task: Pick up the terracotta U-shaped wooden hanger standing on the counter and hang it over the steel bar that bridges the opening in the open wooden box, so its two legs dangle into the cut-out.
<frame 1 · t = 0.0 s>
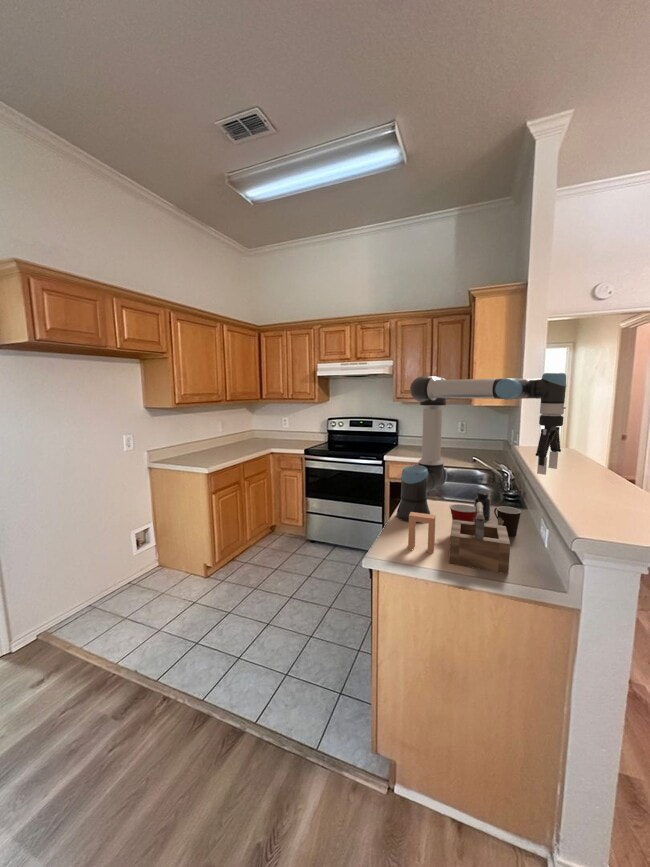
hand: (547, 471, 134), 28 cm above the counter, tool pointing down, fingers open, 13 cm apart
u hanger: (421, 548, 132), on the counter
open wooden box: (477, 558, 124), on the counter
plastic cup: (462, 535, 144), on the counter
supplement bottle: (481, 518, 163), on the counter
coffee mug: (506, 532, 147), on the counter
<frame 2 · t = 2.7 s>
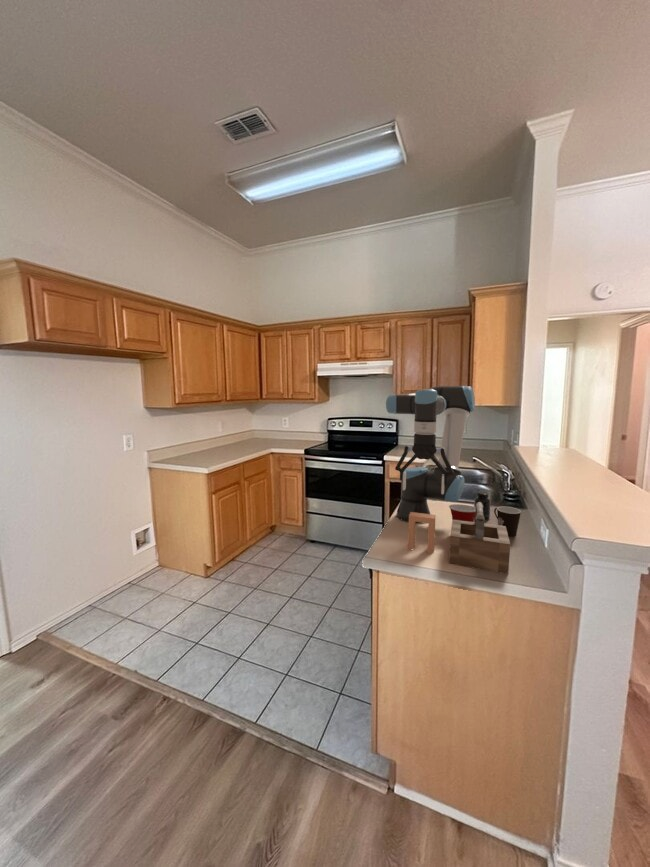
hand: (423, 491, 129), 22 cm above the counter, tool pointing down, fingers open, 13 cm apart
nothing on the counter moved.
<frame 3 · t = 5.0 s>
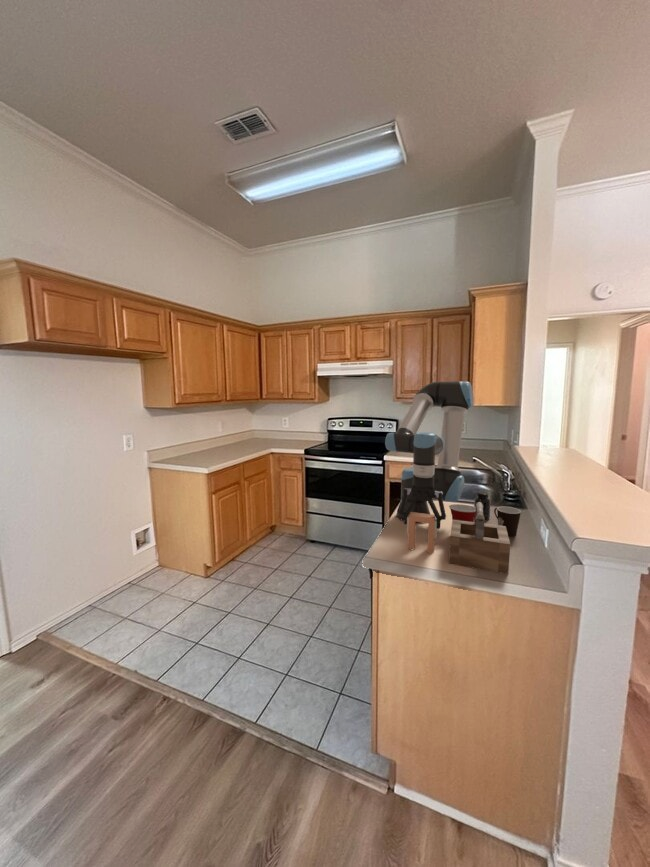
hand: (421, 534, 131), 5 cm above the counter, tool pointing down, fingers closed on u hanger, 9 cm apart
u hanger: (421, 548, 132), on the counter, touching gripper
everything else where it was.
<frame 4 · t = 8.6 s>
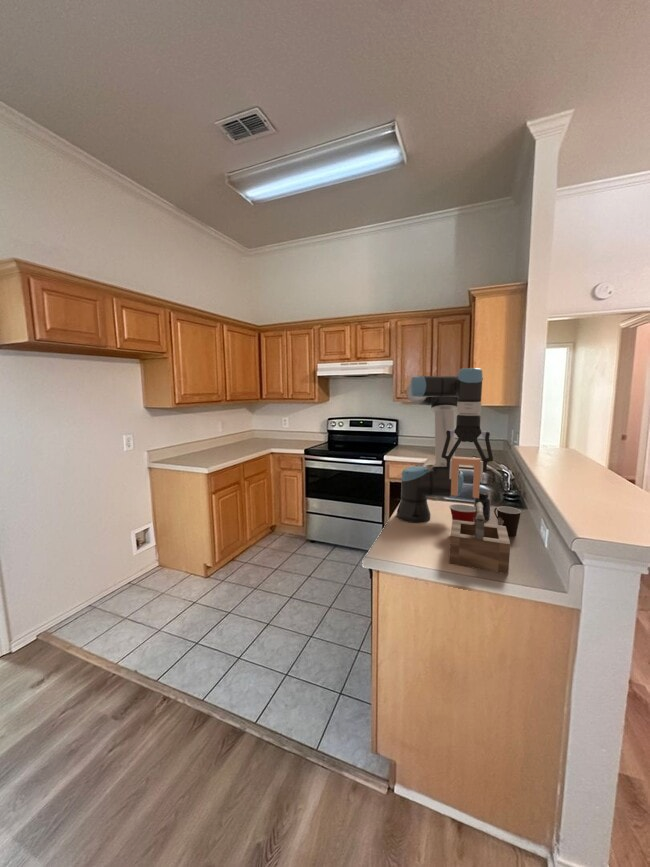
hand: (465, 479, 122), 28 cm above the counter, tool pointing down, fingers closed on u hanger, 9 cm apart
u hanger: (464, 495, 123), point 22 cm above the counter, touching gripper
everything else where it was.
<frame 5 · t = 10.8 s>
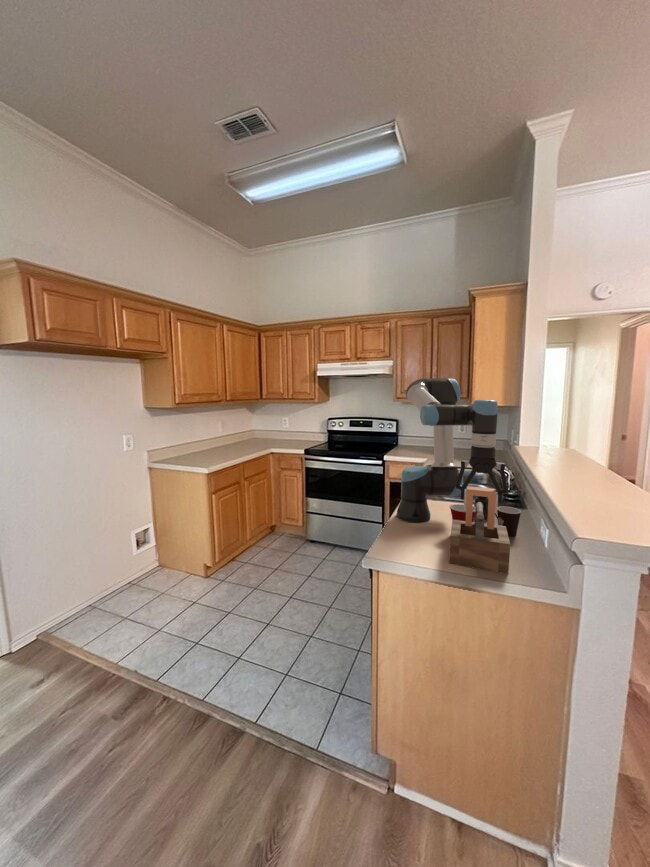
hand: (480, 510, 122), 17 cm above the counter, tool pointing down, fingers closed on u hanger, 9 cm apart
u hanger: (479, 525, 122), point 12 cm above the counter, touching gripper
everything else where it was.
when the fingers open (14 cm above the counter, at t = 12.4 s): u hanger drops 1 cm, resting on open wooden box.
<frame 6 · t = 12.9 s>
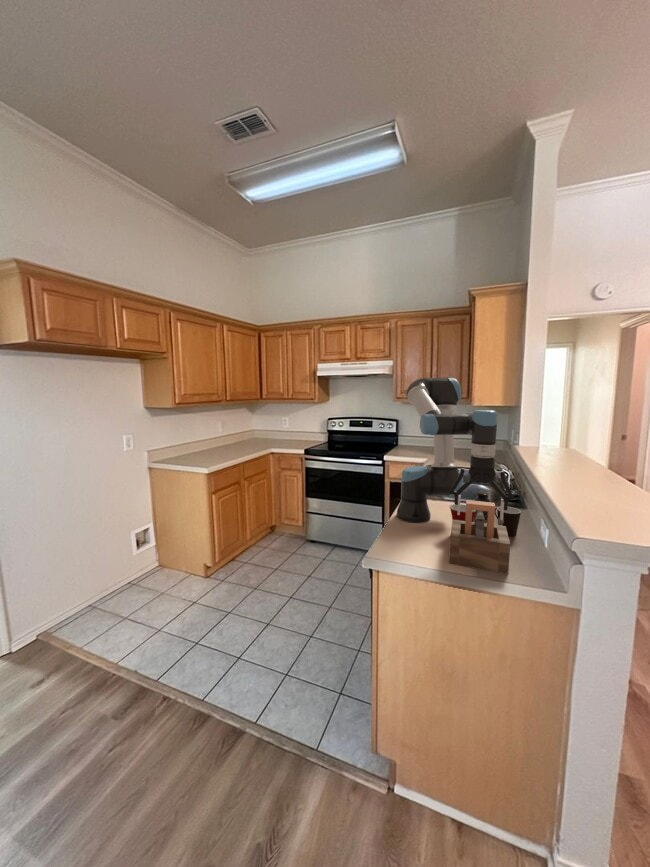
hand: (479, 516, 122), 15 cm above the counter, tool pointing down, fingers open, 13 cm apart
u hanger: (478, 539, 123), point 7 cm above the counter, touching open wooden box
everything else where it was.
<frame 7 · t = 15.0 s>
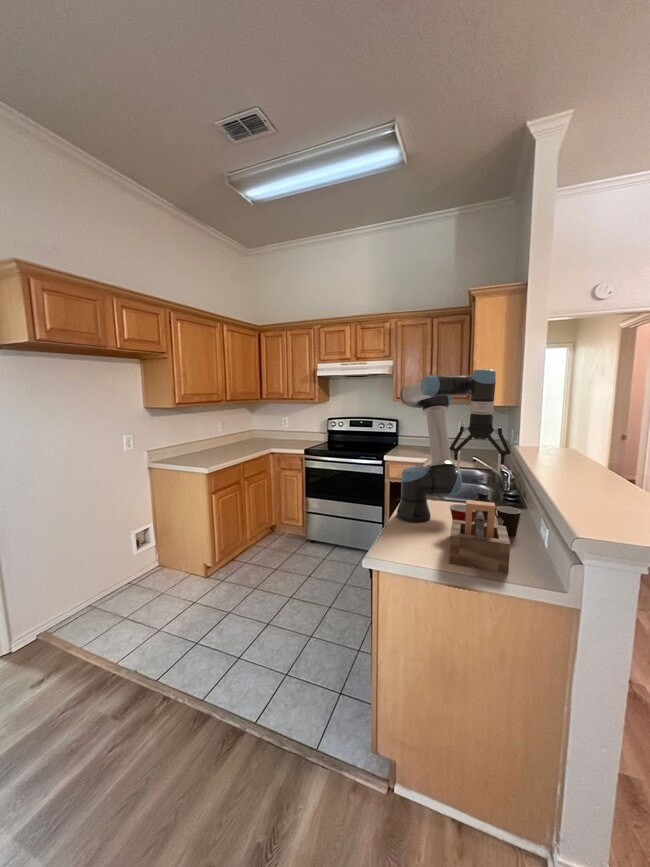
hand: (477, 470, 130), 29 cm above the counter, tool pointing down, fingers open, 13 cm apart
nothing on the counter moved.
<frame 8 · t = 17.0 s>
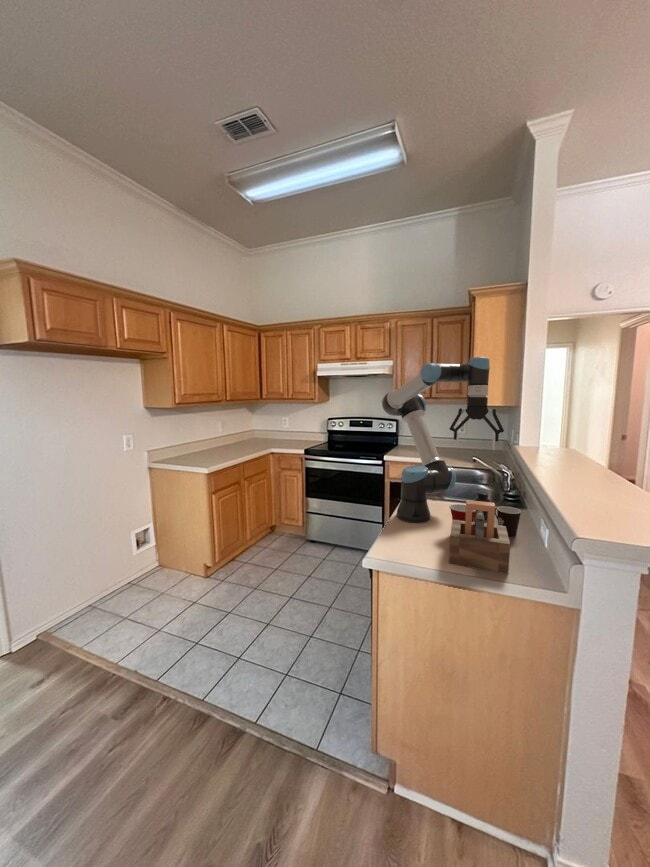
hand: (475, 448, 145), 35 cm above the counter, tool pointing down, fingers open, 13 cm apart
nothing on the counter moved.
at the end: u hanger 0.1 cm off-centre on the open wooden box, point 7.0 cm above the open wooden box's base; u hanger touching open wooden box; the gripper is holding nothing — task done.
